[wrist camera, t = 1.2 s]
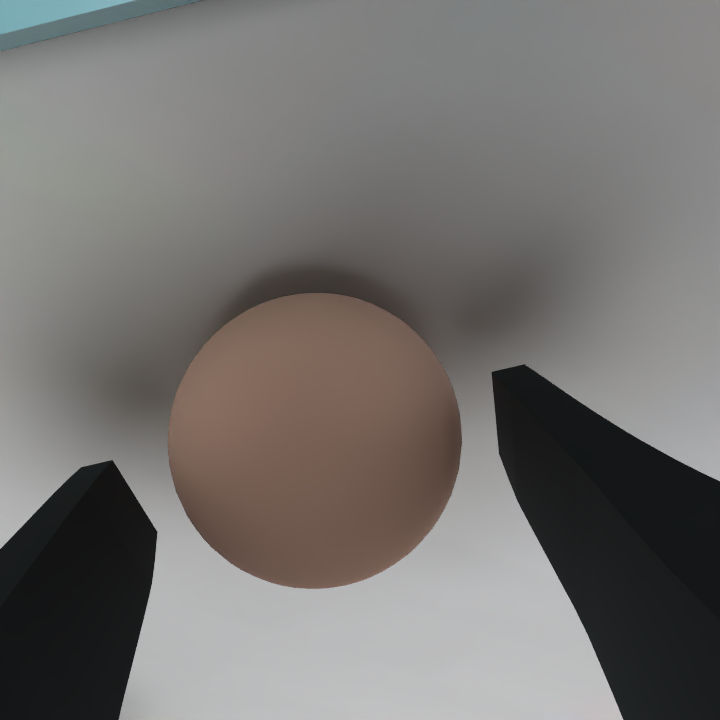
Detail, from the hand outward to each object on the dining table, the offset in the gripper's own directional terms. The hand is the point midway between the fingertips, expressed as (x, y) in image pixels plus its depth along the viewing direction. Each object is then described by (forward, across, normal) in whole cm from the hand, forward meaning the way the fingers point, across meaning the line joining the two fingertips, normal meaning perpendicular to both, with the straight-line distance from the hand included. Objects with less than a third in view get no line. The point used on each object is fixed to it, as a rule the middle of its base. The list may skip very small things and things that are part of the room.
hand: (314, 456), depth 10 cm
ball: (+3, 0, 0) cm, 3 cm away
